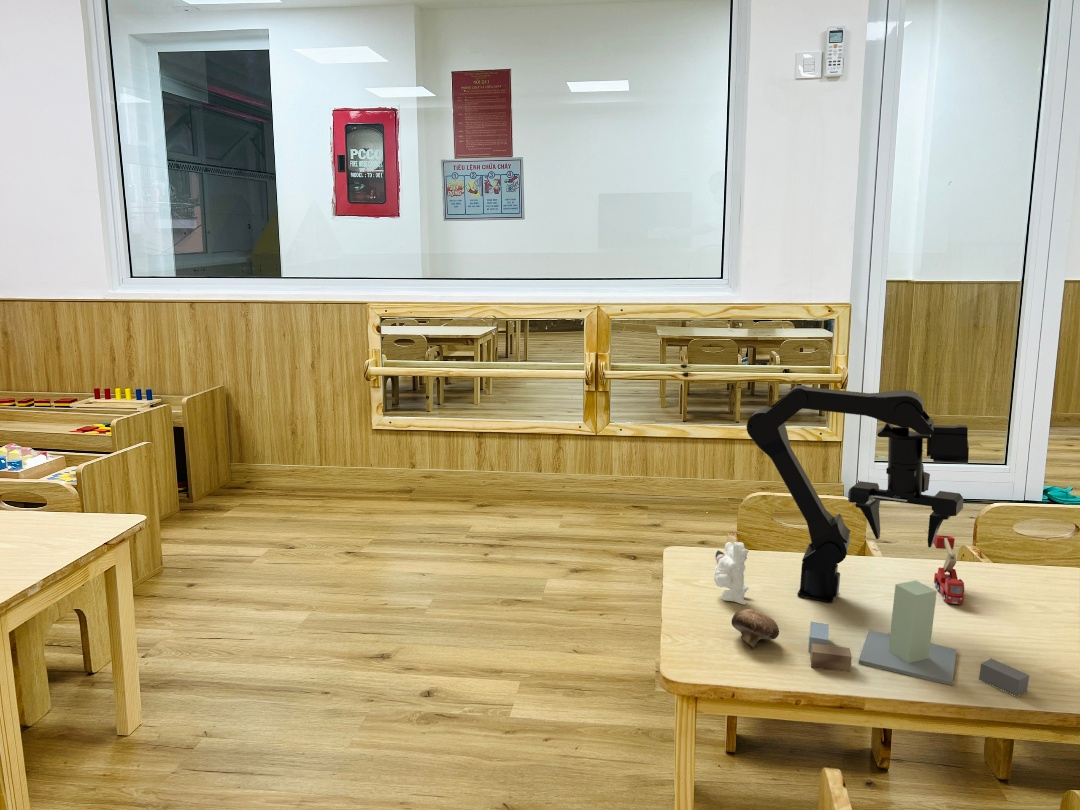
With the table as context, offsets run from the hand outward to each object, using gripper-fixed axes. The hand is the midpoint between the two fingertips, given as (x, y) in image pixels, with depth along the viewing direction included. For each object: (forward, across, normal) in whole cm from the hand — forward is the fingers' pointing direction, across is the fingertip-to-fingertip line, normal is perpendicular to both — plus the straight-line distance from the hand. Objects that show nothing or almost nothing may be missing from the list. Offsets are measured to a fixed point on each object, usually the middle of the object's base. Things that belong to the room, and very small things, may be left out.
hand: (903, 542), depth 157 cm
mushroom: (+12, +16, +29) cm, 36 cm away
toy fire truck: (+14, -4, -14) cm, 20 cm away
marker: (+11, +35, +4) cm, 37 cm away
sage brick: (+13, -6, +18) cm, 23 cm away
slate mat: (+13, -6, +18) cm, 23 cm away
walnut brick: (+13, +3, +29) cm, 32 cm away
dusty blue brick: (+12, +7, +24) cm, 28 cm away
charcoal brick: (+15, -20, +18) cm, 31 cm away
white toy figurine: (+11, +27, +16) cm, 33 cm away
